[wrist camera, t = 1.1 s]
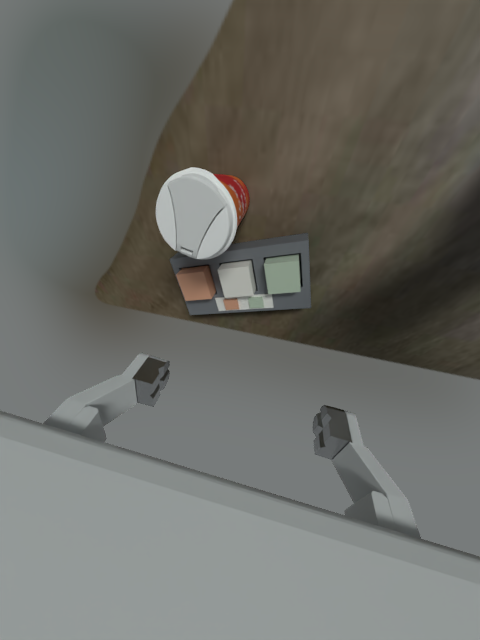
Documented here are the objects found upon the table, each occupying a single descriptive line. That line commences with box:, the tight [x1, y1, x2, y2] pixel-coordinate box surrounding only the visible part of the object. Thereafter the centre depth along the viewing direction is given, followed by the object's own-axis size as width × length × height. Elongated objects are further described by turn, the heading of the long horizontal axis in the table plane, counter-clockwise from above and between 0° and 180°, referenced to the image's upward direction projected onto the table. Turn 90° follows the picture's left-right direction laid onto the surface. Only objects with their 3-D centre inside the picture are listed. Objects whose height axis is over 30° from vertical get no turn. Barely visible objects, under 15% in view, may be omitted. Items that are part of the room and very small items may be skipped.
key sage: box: [264, 254, 301, 294], centre depth 32 cm, size 4×4×2 cm
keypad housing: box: [170, 233, 311, 315], centre depth 36 cm, size 20×10×4 cm, turn 101°
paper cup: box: [156, 167, 249, 259], centre depth 26 cm, size 8×8×14 cm
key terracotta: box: [176, 265, 216, 301], centre depth 35 cm, size 4×4×2 cm
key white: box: [218, 260, 256, 298], centre depth 33 cm, size 4×4×2 cm
